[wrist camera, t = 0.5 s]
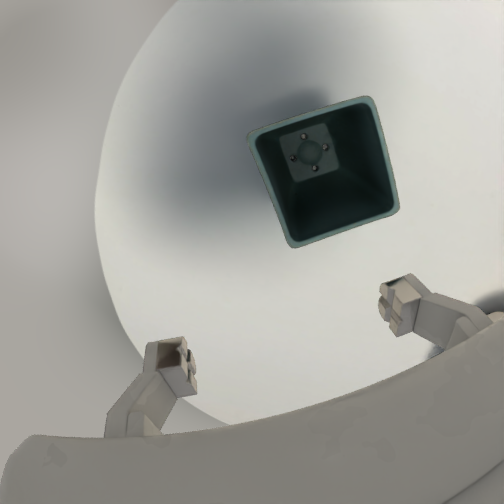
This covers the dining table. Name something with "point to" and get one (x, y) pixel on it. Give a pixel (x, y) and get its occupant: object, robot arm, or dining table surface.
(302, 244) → the flower pot
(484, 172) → the dining table surface
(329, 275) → the dining table surface
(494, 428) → the robot arm
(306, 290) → the dining table surface
